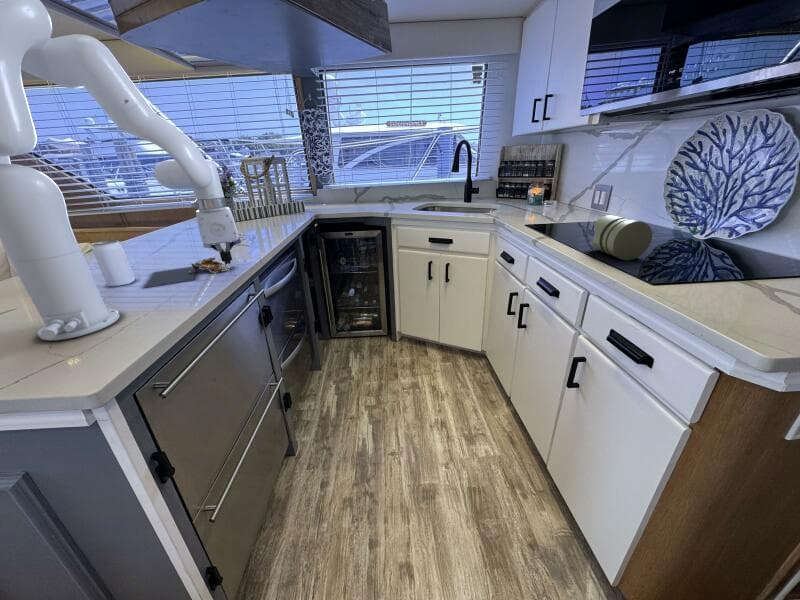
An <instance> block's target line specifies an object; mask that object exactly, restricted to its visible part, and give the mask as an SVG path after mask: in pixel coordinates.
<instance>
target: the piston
mask: <svg viewBox="0 0 800 600" xmlns="http://www.w3.org/2000/svg"><path fill="white" fill-rule="evenodd" d="M592 226H594V233H593V238H592V241H590V242H588V243H589V245H590V246H591V248H593V249H595V250H597V251H599V252H602V253H605V254H607V255H610V256H612V257H615V258H617V259H619V260H623V261H632V260H636V259H637V258H639V257H640V256H642V255H643V254H644V253H645V252H646V251H647V250H648V249H649V247H650V245H651V243H652V240H653V230H652V228H651V226H650V224H648V223H646V222H645V221H641V220H636V219H631V218H627V217H623V216H618V215H613V214H607V215H604V216H601V217H599V218H597V220H595V221H594V223H593V224H592Z"/></svg>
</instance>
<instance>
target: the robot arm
mask: <svg viewBox="0 0 800 600" xmlns="http://www.w3.org/2000/svg"><path fill="white" fill-rule="evenodd" d="M52 34H53V24H52V19H51V15H50V14H49V11H48V10H47V8H46V6H45V5H44V3H43V2H42V1H41V0H0V243H1V245H2V247H3V250H4V251H5V253H6V255H7V257H8V259H9V261H10V262H11V264H12V266H13V268H14V270H15V271H16V273H17V275H18V277H19V279H20V280H21V283H22V284H23V286H24V288H25V290H26V292H27V293H28V295H29V297H30V299H31V301H32V303H33V305H34V306H35V308H36V311H37V312H38V314H39V316H40V318H41V319H42V321H43V323H44V325H43V326H42V327H41V328H39V329H38V330H37V336H38V338H39V339H40V340H43V341H51V342H52V341H61V340H70V339H73V338H78V337H81V336H82V337H83V336H85V335H89V334H93V333H94V332H98V331H100V330H102V329H104V328H105V329H106V328H107V327H109V326H111V325H113V324H115V323H116V322H117V321H118V320H119V319H120V316H121V315H120V312H119V311H118V310H117V309H114V308H107V306H106V304H105V302H104V299H103V297H102V295H101V293H100V291H99V288H98V286H97V284H96V281H95V279H94V277H93V274H92V272H91V270H90V267H89V265H88V263H87V261H86V259H85V257H84V254H83V252H82V250H81V248H80V246H79V243H78V241H77V238H76V236H75V234H74V230H73V229H72V226H71V222H70V218H69V216H68V210H67V205H66V202H65V197H64V195H63V193H62V190H61V189H60V187H59V185H58V184H57V182H55V181H54V180H53V179H51V178H50V176H48V175H47V174H45V173H44V172H42V171H40V170H38V169H35V168H33V167H30V166H27V165H22V164H17V163H12V161H11V157H15V156H22V155H25V154H28V153H30V152H31V151H33V150H34V149H35V147H36V146H37V141H38V135H37V133H36V128H35V125H34V122H33V118H32V113H31V110H30V106H29V102H28V98H27V95H26V91H25V88H24V82H23V78H22V72H25V73H27V74H30V75H32V76H34V77H37V78H39V79H42V80H44V81H48V82H49V83H52V84H55V85H57V86H60V87H63V88H68V89H74V90H77V89H83V88H84V89H85V90H86V91H87V93H89V95H90V96H91V97H92V98H93V99H94V100H95V101H96V103H97V104H98V105H99V106H100V107H101V109H102V110H103V111H104V112H105V113H106V114H107V115H108V117H109V119H111V120H112V122H113V123H114V124H115V125H116V126H117V127H118V128H119V129H121V131H124V132H126V133H128V134H130V135H132V136H134V137H137V138H140V139H142V140H145V141H147V142H150V143H152V144H154V146H157V147H159V148H160V149H162V150H163V151H164V152H166V153H167V154H168V155H169V156H170V157H171V158H173V159H166V160H162V161H160V162H158V163H157V164H156V165H155V167H154V170H153V175H154V177H155V180H156V181H157V182H158V183H159V184H160V185H161V186H163V187H164V188H167V189H169V190H175V191H176V190H178V191H179V190H181V191H183V190H192V191H193V195H194V199H195V201H191V202H190V205H191V207H192V208H197V209H198V210H196V211H195V214H196V222H197V227H198V231H199V235H200V239H201V241H202V247H203V248H204V249H213V250H215V251H216V252H218V253H219V255H220V259H221V260H220V261H221V263H223V262H224V264H225V265H231V264H232V261H233V257H232V252H231V250H232V249H233V247H234V246H236V245H238V244H241V243H242V240H241V238H240V235H239V231H238V227H237V223H236V221H235V218H234V215H233V213H232V210H231V208H230V207H227V202H226V198H225V194H224V191H223V188H222V183H221V180H220V179H221V178H220V175H219V171H218V168H217V164H216V163H215V161H214V160H212V159H206V158H205V156H204V155H203V154H202V153H201V151H200V149H199V148H198V147H197V145H196V144H195V143H194V141H192V140H191V138H190V137H188V136H187V135H186V134H185V133H184V132H182V131H181V130H180V129H178V127H176V126H175V125H174V124H172V123H171V122H170V121H168V120H167V119H165V118H163V117H162V116H161V115H159V114H158V113H157V112H156V111H155V110H154V109H153V108H152V107H151V105H150V103H149V102H148V101H147V99H146V98H145V97H144V96H143V94H142V93H141V92H140V91H139V89H138V87H137V86H136V85H135V84H134V82H133V81H132V80H131V78H130V76H129V75H128V74H127V73H126V71H125V69H124V68H123V67H122V65H121V63H120V62H119V61H118V60H117V59H116V57H115V56H114V55H113V53H112V52H111V50H110V49H109V48H108V47H107V46H106V45H105V44H104V43H103V42H102V41H101V40H99V39H97V38H96V37H93V36H90V35H88V34H81V33H80V34H77V33H75V34H67V35H61V36H57V37H53V38H52ZM221 244H225V248H223V247H222V245H221Z"/></svg>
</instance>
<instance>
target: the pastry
mask: <svg viewBox="0 0 800 600" xmlns="http://www.w3.org/2000/svg"><path fill="white" fill-rule="evenodd" d="M191 267H193V268H194V270H195V271H194V272H193V271H189V273H190V274H191V273H194V274H195V273H196V274H197V272H196V269H197V270H201V271H205V270H208V271H209V272H210V273H214V274H216V273H219V272H225V271H230V269H233V267H232V266H230V265H228V264H226V265H225V263H223V262H219V261H217V260H216V258H215V256H214V257H208V258H205V259H198V261H196V262H195V263H192V262H191Z"/></svg>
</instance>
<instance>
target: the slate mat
mask: <svg viewBox="0 0 800 600" xmlns="http://www.w3.org/2000/svg"><path fill="white" fill-rule="evenodd" d="M189 271H193V272H194V271H195V270H194V268H193V267H192V266H189V267H181V268H176V269H169V270H162V271H155V272H154V273H153V274H152V276H151V278H149V280H148V282H147V283H146V284H145V286H144V287H143V288H144V289H148V288H154V287H159V286H166V285H171V284H173V285H174V284H177V283H178V284H179V283H184V282H190V281H195V278H196V275H197V271H198V269H196V273H195V274H194V273H191V274H190V273H189Z"/></svg>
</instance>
